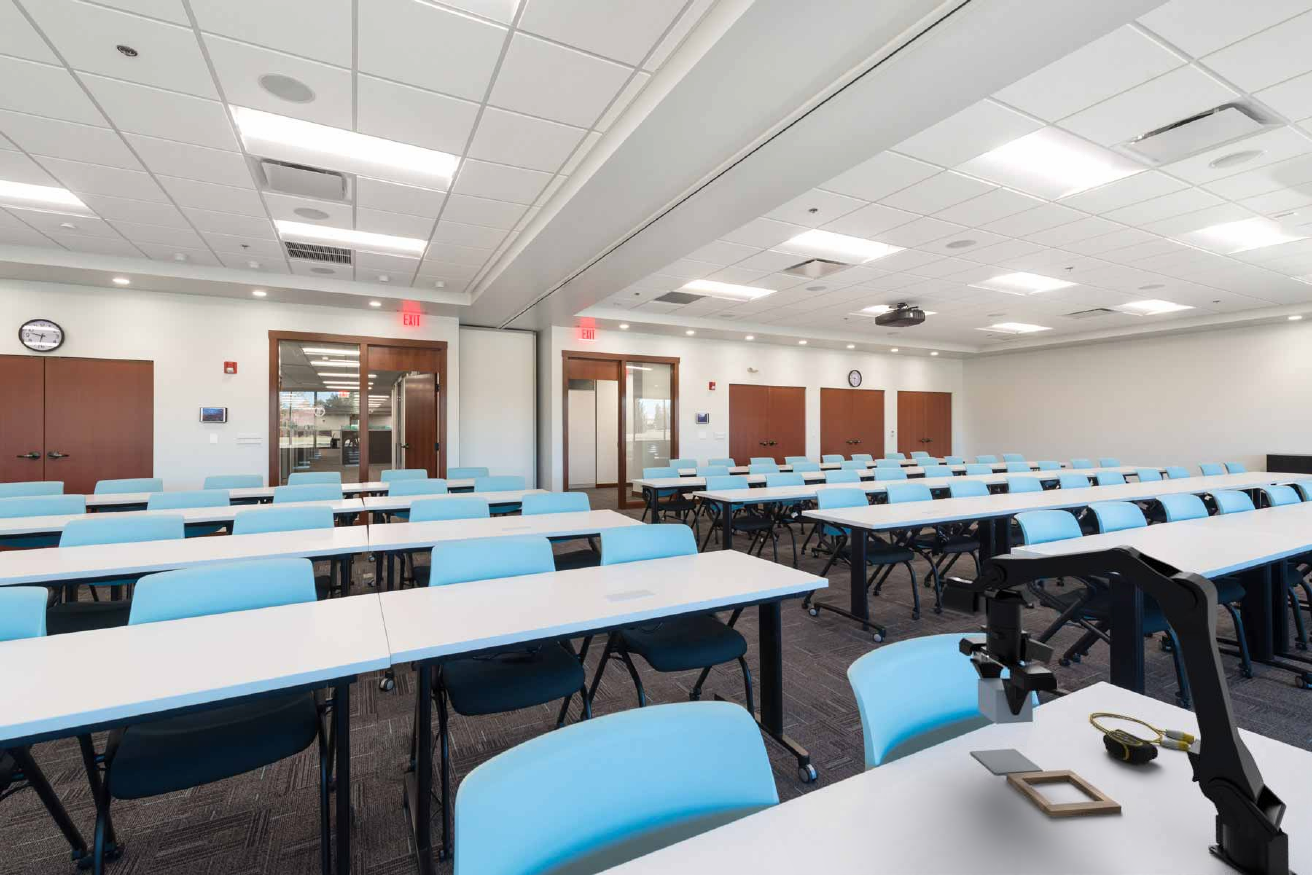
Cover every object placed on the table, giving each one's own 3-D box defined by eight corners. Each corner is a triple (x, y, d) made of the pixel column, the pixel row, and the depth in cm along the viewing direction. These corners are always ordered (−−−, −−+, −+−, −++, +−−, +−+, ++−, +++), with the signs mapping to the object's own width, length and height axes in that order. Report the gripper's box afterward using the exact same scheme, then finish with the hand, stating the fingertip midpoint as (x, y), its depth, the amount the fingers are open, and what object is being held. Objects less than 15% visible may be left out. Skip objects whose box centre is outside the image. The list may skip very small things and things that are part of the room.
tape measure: (1160, 764, 103) (1160, 743, 103) (1134, 770, 101) (1134, 750, 101) (1120, 744, 110) (1119, 725, 110) (1095, 751, 108) (1094, 731, 108)
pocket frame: (1121, 812, 90) (1121, 805, 90) (1051, 817, 89) (1051, 811, 89) (1070, 775, 100) (1070, 769, 100) (1006, 779, 99) (1006, 773, 99)
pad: (1042, 771, 101) (1042, 769, 101) (995, 774, 100) (995, 772, 100) (1014, 750, 108) (1014, 748, 108) (970, 752, 107) (970, 751, 107)
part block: (1032, 721, 102) (1032, 688, 102) (996, 723, 101) (995, 690, 101) (1013, 708, 107) (1012, 677, 107) (978, 710, 106) (977, 678, 106)
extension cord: (1168, 762, 104) (1168, 751, 104) (1077, 723, 119) (1077, 713, 119) (1204, 748, 109) (1204, 737, 109) (1112, 711, 124) (1112, 702, 124)
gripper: (1086, 639, 96) (1088, 731, 95) (1008, 607, 114) (1010, 684, 114) (1025, 642, 95) (1026, 735, 94) (956, 609, 113) (957, 686, 113)
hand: (1005, 707), depth 104 cm, fingers closed on part block, 5 cm apart
